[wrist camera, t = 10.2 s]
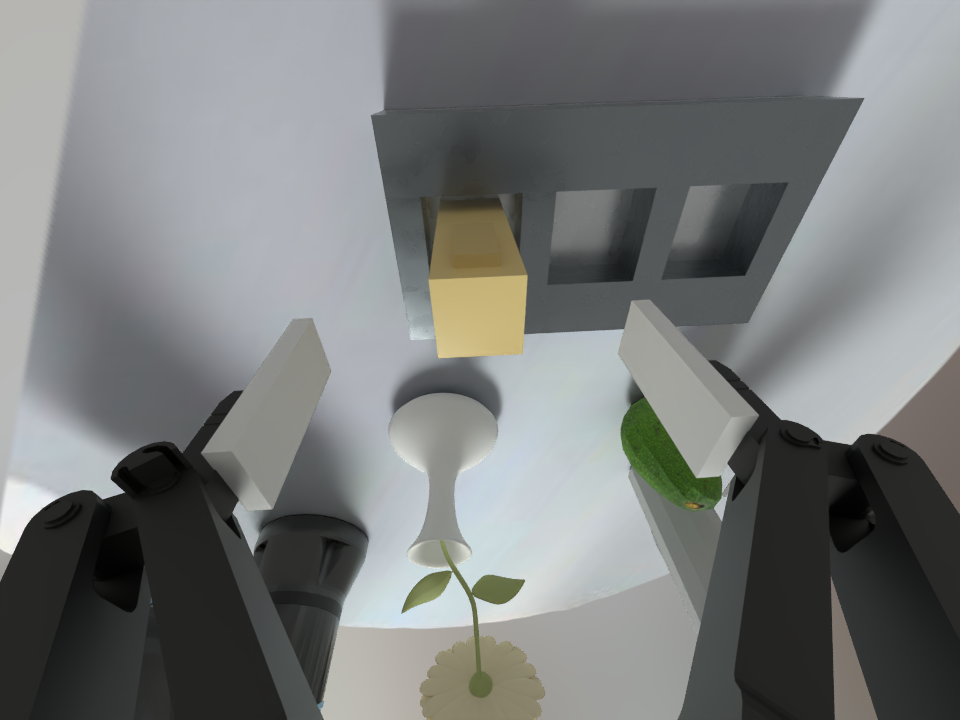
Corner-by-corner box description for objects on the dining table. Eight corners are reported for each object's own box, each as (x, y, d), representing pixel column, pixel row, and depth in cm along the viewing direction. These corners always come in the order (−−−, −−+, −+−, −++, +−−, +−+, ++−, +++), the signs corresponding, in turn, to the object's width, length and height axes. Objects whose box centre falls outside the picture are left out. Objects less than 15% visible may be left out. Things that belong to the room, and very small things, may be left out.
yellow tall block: (444, 258, 26) (438, 358, 17) (438, 191, 23) (426, 265, 14) (499, 255, 26) (522, 354, 17) (499, 188, 23) (528, 261, 14)
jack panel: (415, 312, 30) (410, 339, 27) (383, 110, 21) (371, 115, 18) (718, 297, 31) (747, 322, 27) (806, 95, 22) (864, 98, 19)
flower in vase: (382, 445, 40) (312, 789, 21) (402, 371, 34) (326, 771, 14) (490, 463, 44) (518, 777, 24) (527, 398, 37) (606, 757, 17)
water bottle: (639, 444, 43) (794, 753, 23) (697, 449, 44) (891, 747, 24) (608, 487, 48) (712, 766, 29) (660, 491, 50) (794, 761, 30)
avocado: (647, 367, 35) (717, 472, 26) (697, 395, 38) (777, 498, 29) (592, 416, 39) (635, 522, 30) (641, 438, 42) (695, 541, 33)
